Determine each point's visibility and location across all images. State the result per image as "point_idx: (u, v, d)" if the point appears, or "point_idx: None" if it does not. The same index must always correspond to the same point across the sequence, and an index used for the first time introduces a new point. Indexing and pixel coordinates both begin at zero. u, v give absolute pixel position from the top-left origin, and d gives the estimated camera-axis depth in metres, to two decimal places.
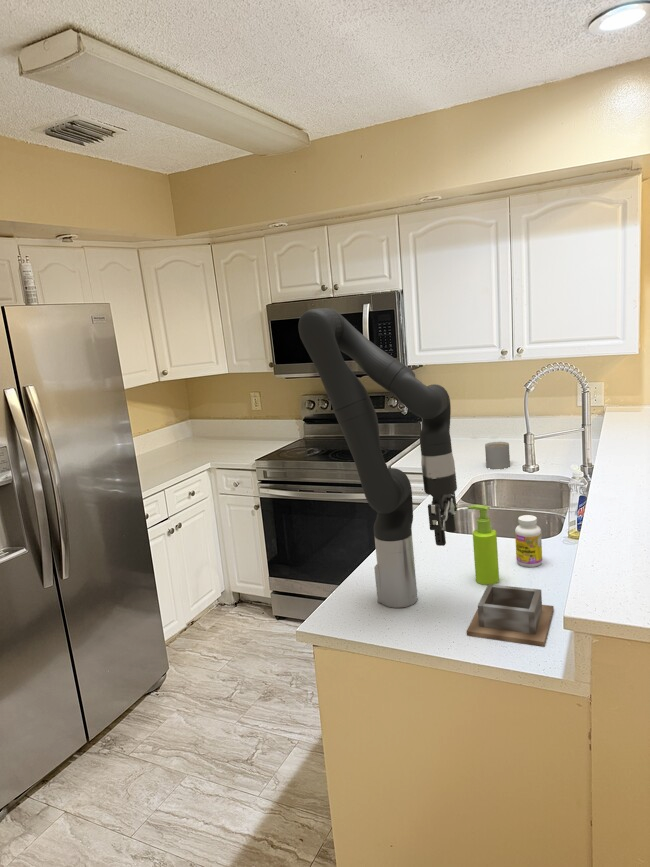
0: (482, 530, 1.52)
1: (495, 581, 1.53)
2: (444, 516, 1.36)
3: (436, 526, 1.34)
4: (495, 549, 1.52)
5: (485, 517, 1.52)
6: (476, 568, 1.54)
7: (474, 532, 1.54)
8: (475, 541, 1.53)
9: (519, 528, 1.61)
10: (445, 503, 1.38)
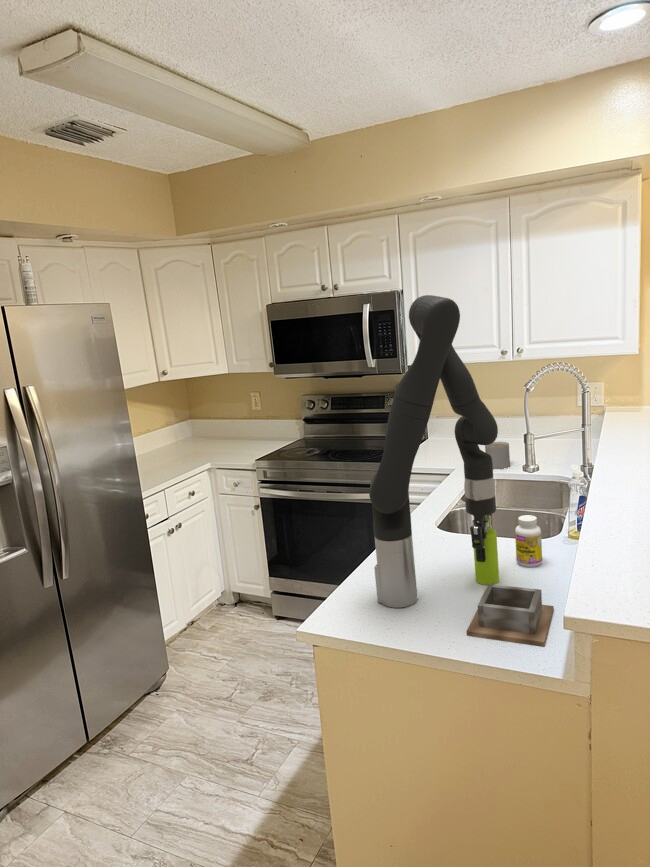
0: None
1: (495, 581, 1.53)
2: (485, 536, 1.50)
3: (478, 545, 1.49)
4: (495, 549, 1.52)
5: (485, 517, 1.52)
6: (476, 568, 1.54)
7: None
8: None
9: (519, 528, 1.61)
10: (485, 523, 1.51)
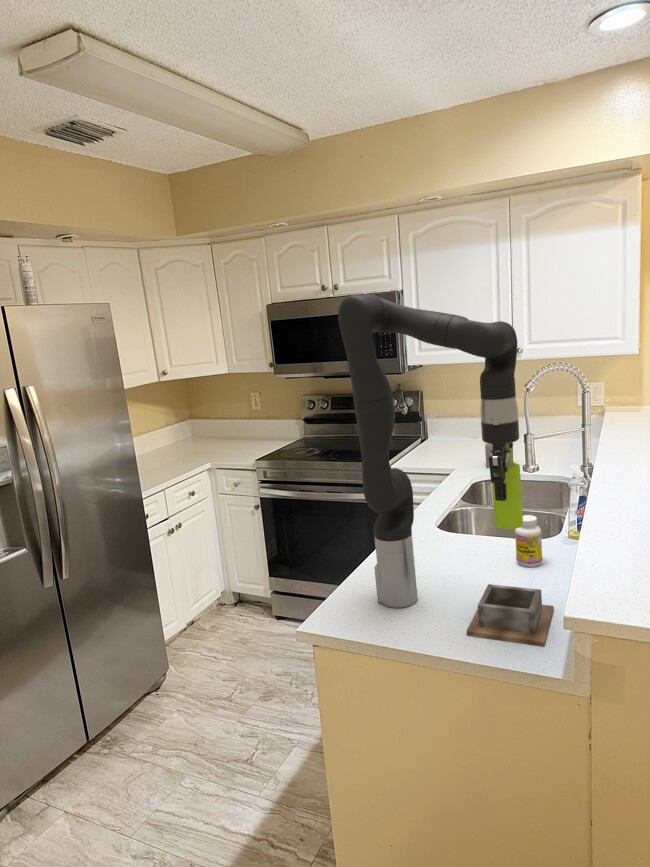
0: None
1: (518, 524, 1.27)
2: (506, 468, 1.24)
3: (498, 479, 1.23)
4: (519, 485, 1.26)
5: (506, 447, 1.26)
6: (495, 509, 1.28)
7: None
8: None
9: (519, 528, 1.61)
10: (506, 453, 1.25)
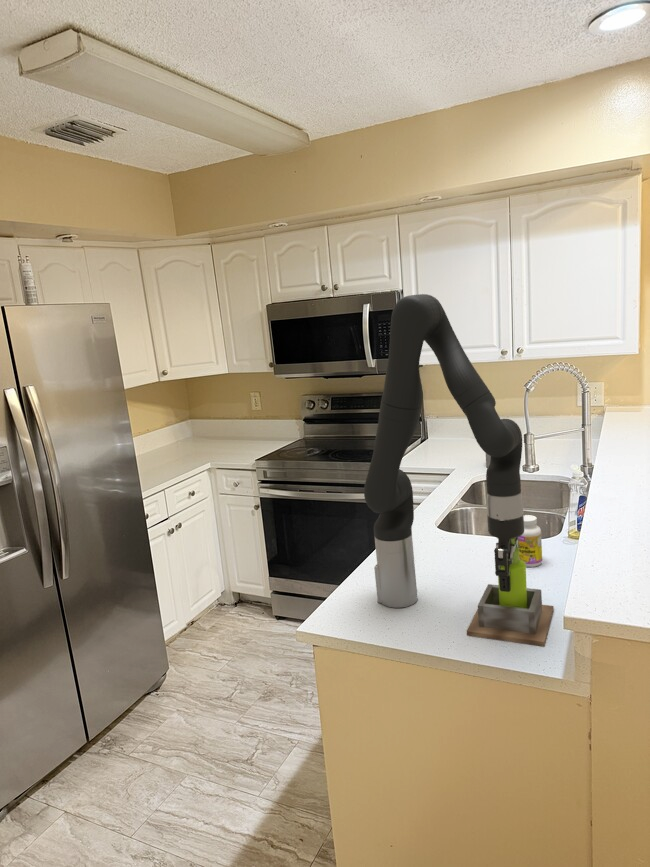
0: None
1: None
2: (510, 561, 1.27)
3: (503, 572, 1.25)
4: (524, 583, 1.30)
5: None
6: (501, 605, 1.32)
7: None
8: None
9: None
10: (511, 546, 1.28)
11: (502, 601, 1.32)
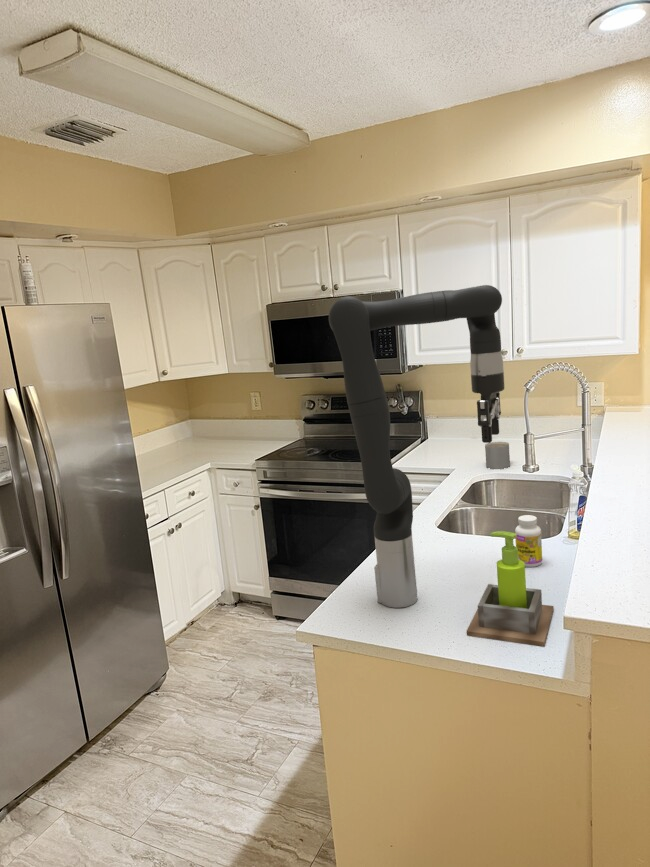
0: (508, 561, 1.30)
1: None
2: (492, 413, 1.40)
3: (484, 421, 1.38)
4: (523, 583, 1.30)
5: (512, 546, 1.30)
6: (501, 605, 1.32)
7: (498, 563, 1.32)
8: (500, 574, 1.31)
9: (519, 528, 1.61)
10: (493, 401, 1.42)
11: (502, 601, 1.32)
